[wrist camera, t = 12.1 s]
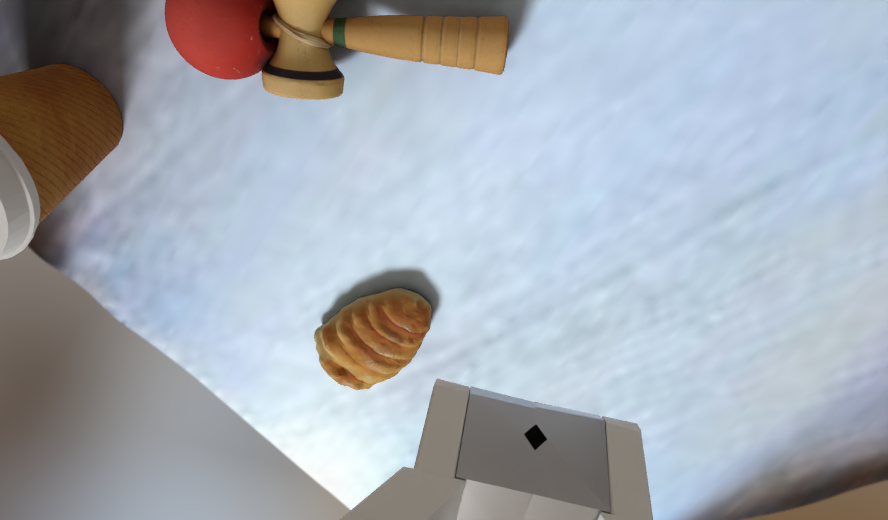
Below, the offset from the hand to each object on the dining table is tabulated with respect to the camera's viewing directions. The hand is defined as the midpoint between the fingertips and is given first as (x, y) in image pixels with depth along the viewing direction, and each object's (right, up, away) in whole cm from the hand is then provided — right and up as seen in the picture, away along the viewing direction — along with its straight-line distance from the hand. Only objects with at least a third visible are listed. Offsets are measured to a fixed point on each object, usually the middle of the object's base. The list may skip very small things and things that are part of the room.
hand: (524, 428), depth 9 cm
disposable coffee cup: (-25, +12, +32) cm, 43 cm away
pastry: (-6, -2, +39) cm, 39 cm away
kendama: (-6, +16, +26) cm, 32 cm away
